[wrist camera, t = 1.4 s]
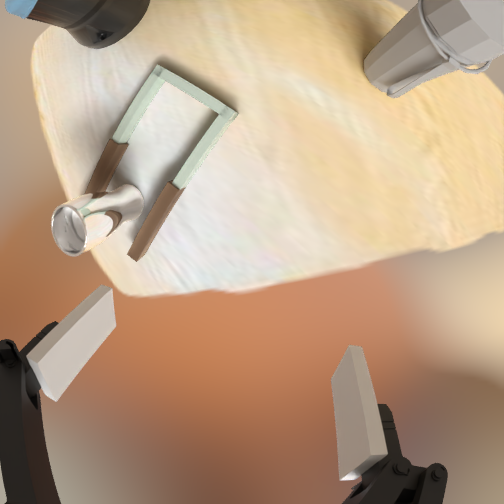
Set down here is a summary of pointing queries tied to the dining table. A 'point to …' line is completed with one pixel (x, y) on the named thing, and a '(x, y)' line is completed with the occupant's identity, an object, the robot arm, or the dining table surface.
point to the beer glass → (94, 218)
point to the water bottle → (436, 43)
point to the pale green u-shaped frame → (162, 75)
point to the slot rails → (158, 211)
